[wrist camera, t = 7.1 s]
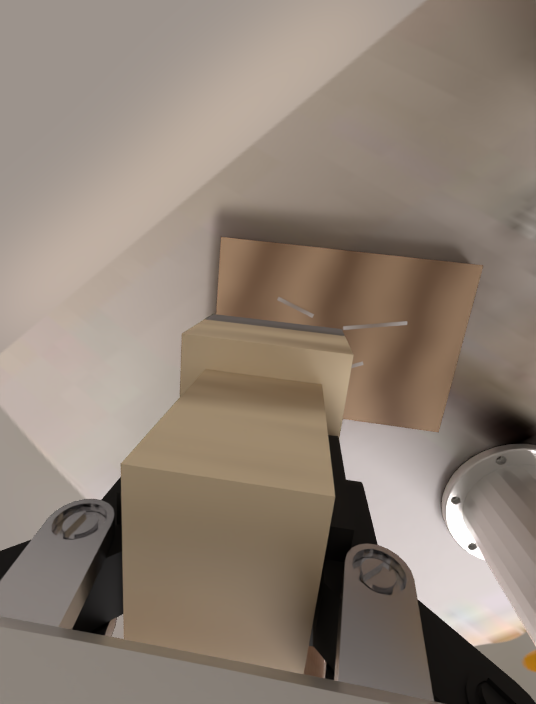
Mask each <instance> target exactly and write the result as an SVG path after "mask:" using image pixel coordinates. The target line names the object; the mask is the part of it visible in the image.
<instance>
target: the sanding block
mask: <svg viewBox="0 0 536 704" xmlns="http://www.w3.org/2000/svg"><path fill="white" fill-rule="evenodd" d="M353 356H354V355H353V352H352V350H351V348H350V346H349V344H348V342H347V340H346V337H345V335H344V333H343V331H342V329H336V328H328V327H319V326H311V325H302V324H294V323H286V322H277V321H269V320H260V319H252V318H243V317H235V316H226V315H218V314H212V315H211V316H209V317H208V318H206V319H204V320H203V321H201V322H200V323H198V324H196V325H195V326H193V327H192V328H190V329H188V330H187V331H185V332H184V333H182V345H181V376H180V398H179V399H178V400H177V401H176V402H175V403H174V405H173V406H172V407H171V408H170V409H169V410H168V411H167V412H166V414H165V415H164V416H163V417H162V418H161V419H160V420H159V421H158V423H157V424H156V425H155V426H154V427H153V428H152V429H151V430H150V431H149V433H148V434H147V435H146V436H145V437H144V438H143V439H142V440H141V442H140V443H139V444H138V445H137V446H136V447H135V448H134V449H133V451H132V452H131V453H130V454H129V455H128V456H127V457H126V458H125V460H124V461H123V462H122V463H121V506H122V562H123V617H124V639H125V640H130V641H135V642H141V643H146V644H151V645H156V646H161V647H167V648H172V649H177V650H182V651H187V652H193V653H198V654H203V655H208V656H213V657H218V658H224V659H229V660H234V661H239V662H244V663H249V664H255V665H260V666H265V667H270V668H275V669H280V670H285V671H290V672H295V673H300V674H304V669H305V663H306V658H307V652H308V647H309V641H310V635H311V630H312V624H313V619H314V613H315V607H316V602H317V596H318V591H319V585H320V579H321V574H322V568H323V563H324V557H325V551H326V546H327V540H328V535H329V529H330V523H331V518H332V512H333V507H334V501H335V490H334V482H333V473H332V465H331V456H330V447H329V439H328V435H332V436H338V437H340V431H341V425H342V419H343V413H344V408H345V402H346V396H347V390H348V384H349V379H350V373H351V367H352V361H353Z"/></svg>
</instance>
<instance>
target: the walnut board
mask: <svg viewBox="0 0 536 704" xmlns="http://www.w3.org/2000/svg"><path fill="white" fill-rule="evenodd" d="M482 269H483V265H475V264H466V263H457V262H448V261H438V260H429V259H420V258H411V257H402V256H392V255H383V254H374V253H365V252H356V251H346V250H337V249H328V248H319V247H310V246H300V245H291V244H282V243H273V242H264V241H254V240H245V239H236V238H227V237H221V246H220V261H219V276H218V292H217V307H216V314H218V315H226V316H235V317H243V318H252V319H260V320H269V321H277V322H286V323H294V324H302V325H311V326H319V327H328V328H336V329H342V331H343V333H344V335H345V337H346V340H347V342H348V344H349V346H350V348H351V350H352V352H353V355H354V356H353V361H352V367H351V373H350V379H349V384H348V390H347V396H346V402H345V408H344V413H343V419H348V420H355V421H362V422H369V423H376V424H383V425H390V426H397V427H405V428H412V429H419V430H426V431H433V432H439V428H440V425H441V421H442V417H443V414H444V410H445V406H446V402H447V399H448V395H449V391H450V388H451V384H452V380H453V376H454V373H455V369H456V365H457V362H458V358H459V354H460V350H461V347H462V343H463V339H464V336H465V332H466V328H467V324H468V321H469V317H470V313H471V309H472V306H473V302H474V298H475V295H476V291H477V287H478V283H479V280H480V276H481V272H482Z"/></svg>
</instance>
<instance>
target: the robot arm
mask: <svg viewBox="0 0 536 704" xmlns="http://www.w3.org/2000/svg"><path fill="white" fill-rule="evenodd" d="M328 439H329V447H330V456H331V465H332V473H333V482H334V490H335V501H334V507H333V512H332V518H331V523H330V529H329V535H328V540H327V546H326V551H325V557H324V563H323V568H322V574H321V579H320V585H319V591H318V596H317V602H316V607H315V613H314V619H313V624H312V630H311V635H310V641H309V646H313V647H314V648H315V649H316V650H317V651H318V653H319V654H320V655H321V656H322V657H323V659H324V660H325V664H324V672H323V678H320V677H315V676H310V675H305V674H300V673H295V672H290V671H285V670H280V669H275V668H270V667H265V666H260V665H255V664H249V663H244V662H239V661H234V660H229V659H224V658H218V657H213V656H208V655H203V654H198V653H193V652H187V651H182V650H177V649H172V648H167V647H161V646H156V645H151V644H146V643H141V642H135V641H130V640H125V639H120V638H114V637H112V634H113V631H114V628H115V625H116V620H117V617H118V616H120V615H122V614H123V562H122V506H121V477H120V478H119V480H118V481H117V482H116V483H115V484H114V485H113V487H112V488H111V489H110V490H109V491H108V493H107V494H106V495H105V496H104V497H103V499H102V500H98V499H83V500H79V501H74V502H72V503H69V504H67V505H65V506H63V507H61V508H59V509H58V510H56V511H55V512H54V513H53V514H52V515H51V516H50V517H49V518H48V519H47V520H46V522H45V523H44V524H43V525H42V527H41V528H40V529H39V531H38V532H37V533H36V535H35V536H34V537H33V539H32V540H29V541H26V542H24V543H21V544H18V545H16V546H13V547H10V548H7V549H5V550H2V551H0V704H536V703H535V702H534V700H533V699H532V698H531V697H530V695H529V694H528V693H527V692H526V691H524V689H522V688H521V687H520V686H519V685H518V684H517V683H516V682H515V681H514V680H513V679H512V678H510V677H509V676H508V675H507V674H506V673H504V672H503V671H502V670H501V669H500V668H499V667H497V666H496V665H495V664H494V663H493V662H491V661H490V660H489V659H488V658H486V657H485V656H484V655H483V654H482V653H481V652H480V651H478V650H477V649H476V648H475V647H474V646H472V645H471V644H470V643H469V642H468V641H466V640H465V639H464V638H463V637H462V636H461V635H459V634H458V633H457V632H456V631H455V630H453V629H452V628H451V627H450V626H449V625H447V624H446V623H445V622H444V621H443V620H442V619H440V618H439V617H438V616H437V615H436V614H434V613H433V612H432V611H431V610H430V609H428V608H427V607H426V606H425V605H424V604H423V603H421V602H420V601H419V600H418V599H417V594H416V588H415V581H414V578H413V575H412V572H411V570H410V569H409V567H408V566H407V564H406V563H405V562H404V561H403V560H402V559H401V558H400V557H399V556H398V555H397V554H395V553H393V552H392V551H390V550H389V549H387V548H384V547H382V546H379V545H377V540H376V536H375V532H374V528H373V524H372V520H371V516H370V512H369V508H368V503H367V499H366V495H365V491H364V487H363V484H362V483H361V482H357V481H351V480H346V478H345V472H344V466H343V460H342V454H341V449H340V443H339V437H338V436H332V435H328ZM442 514H443V518H444V521H445V524H446V526H447V528H448V530H449V532H450V534H451V535H452V537H453V538H454V540H455V541H456V542H457V543H458V544H459V545H460V546H461V547H462V548H463V549H464V550H466V551H467V552H468V553H470V554H472V555H474V556H476V557H478V558H480V559H483V560H485V561H486V563H487V564H488V566H489V568H490V569H491V571H492V573H493V575H494V576H495V578H496V580H497V581H498V583H499V585H500V586H501V588H502V590H503V592H504V593H505V595H506V597H507V598H508V600H509V602H510V604H511V605H512V607H513V609H514V610H515V612H516V614H517V615H518V617H519V619H520V621H521V622H522V624H523V626H524V627H525V629H526V631H527V632H528V634H529V636H530V638H531V639H532V641H533V643H534V644H535V646H536V445H531V444H509V445H503V446H498V447H495V448H492V449H489V450H486V451H483V452H481V453H479V454H478V455H476V456H474V457H472V458H470V459H469V460H468V461H467V462H465V463H464V464H463V465H461V466H460V467H459V468H458V470H457V471H456V472H455V473H454V474H453V475H452V477H451V478H450V480H449V482H448V483H447V485H446V488H445V490H444V493H443V497H442Z"/></svg>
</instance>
